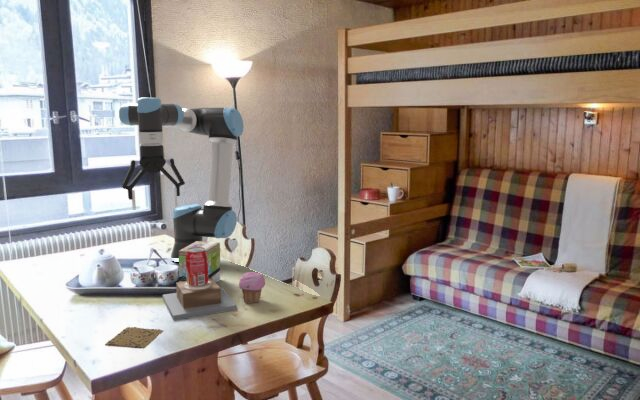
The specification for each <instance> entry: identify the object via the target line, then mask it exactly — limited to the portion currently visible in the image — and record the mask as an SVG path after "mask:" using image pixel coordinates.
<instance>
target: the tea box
mask: <svg viewBox="0 0 640 400" xmlns="http://www.w3.org/2000/svg"><path fill="white" fill-rule="evenodd" d="M192 247H203V248H205V251H206V253H207V257H208V278H212V279H213V280H214V281H215V282H216V283H217V282H219V281H220V280H221V243H220V242H215V241H214V242H213V241H203V242H202V241H196V242H194V243H192V244H190V245H188V246H187V247H185V248H183V249H181V250H179V263H178V275H179V276H178V278H179V280H178V282H184V281H187V278H186V253H187V249H189V248H192Z"/></svg>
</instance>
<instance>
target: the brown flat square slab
mask: <svg viewBox="0 0 640 400" xmlns="http://www.w3.org/2000/svg"><path fill="white" fill-rule="evenodd" d="M163 332H164V330H162V329H159V328H158V329H157V328H155V329H154V328H143V327H142V328H141V327H136V326H134V327H133V326H132V327H130V326H129V327H128V326H127V327H125V328H124V329H122V331H120V332H119V333H118V334H116V335H115V336H114V337H113V338H111V339H110V340H108V341H107V342H106V343H105V344H104V345H105V346H109V347H110V346H111V347H122V348H132V349H133V348H135V349H145V348H146V347H148V346H149V345H150V344H151V343H152V342H153V341H154V340H156V339H157V336H158V335H159V334H160V335H161V334H162V333H163ZM160 335H159V336H160ZM159 336H158V337H159Z"/></svg>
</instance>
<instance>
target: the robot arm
mask: <svg viewBox="0 0 640 400" xmlns="http://www.w3.org/2000/svg"><path fill="white" fill-rule="evenodd" d="M118 114H119V115H118V118H119V120H120V122H121V123H122V124H124V125H126V126H138V140H139V141H138V142H139V144H140V145H139V153H140V154H139V156H140V159H139V160H136V159H135V160H134V159H131V160H130V164H129V166H130V167H129V168H128V170H127V173H126V175H125V176H124V179H123V182H122V185H121V188H122V189H125V190H127V194H128V195H127V197H128V200H130V201H131V205H132V206H131V207H132V210H136V191H135V189H134V188H135V186H136V185H137V184H138V182H139V181H140V180H141V178H143V176H144V175H145V174H146V173H148V174H152V173H160V172H161V173H162V174H163V175H164V176H166V178H167V179H168V180H169V181H170V182H171V183H172V184H173V185H174V186H172V197H173V199H172V200H173V206H174V207H175V208H174V210H173V215H172V221H173V222H172V223H173V235H174V243H173V247H172V251H171V253H170V259H171V258H179V250H181V249H183V248H185V247H187V246H188V245H190V244H192V243H194V242H196V241H202V242H204V240H203V238H212V239H213V238H214V239H227V238H230V237H231V236H232V235H233V233H234V232H235V230H236V228H237V222H238V218H237V217H238V216H237V213H236V212H235V211H234V210H233V206H232V205H231V203H230V193H231V192H230V189H231V175H232V164H233V163H232V162H233V161H232V158H233V147H234V145H235V144H236V143H237V140H238V137H240V136H242V135H243V133H244V120H243V117H242V114H241V112H240V111H239V110H238V109H237V108H235V107H225V106H224V107H197V108H196V107H195V108H182V106H181V105H179V104H177V103H162V101H161V99H160V97H139V98H138V99H137V103H132V102H131V103H125V104H123V105H120V107H119V110H118ZM163 128H167V129H175V130H176V129H177V130H180V131H182V132H184V133H191V134H195V135H199V136H200V135H201V136H208V140H209V141H210V143H211V150H210V151H211V152H210V165H209V178H208V179H209V180H208V192H207V193H208V194H207V201H206V202H205V203H204V204H203V207H202V204H200V203H199V204H198V203H193V204H187V205H182V206H178V197H180V195H181V192H180V187H181V186H185V184H186V182H185V181H184V179H183V176H181V174H180V171H179V170H178V169H177V167H176V164H175V159H174V158H172V157H170V158H165V154H164V152H165V151H164V150H165V149H164V145H163V144H164V135H163ZM166 164H167V165H168V166H170V168H171V169H172V171H173V174H174V175H175V177H176V179H177V180H178V181H177V180H176V179H174V177H173V176H172V175H171V174H170V173H169V172H168V171H167V170H166V169H165V168H164V166H165V165H166ZM138 165H140V166H141V169H140V170H139V172H138V173H137V174H136V176H135V177H134V178H133V179H132V181H131V182H130V180H131V177H132V176H133V174H134V171H135V168H137V166H138ZM129 182H130V183H129Z"/></svg>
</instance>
